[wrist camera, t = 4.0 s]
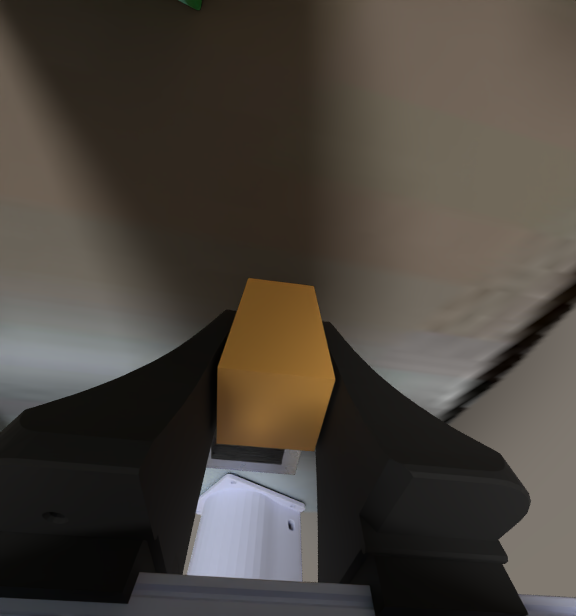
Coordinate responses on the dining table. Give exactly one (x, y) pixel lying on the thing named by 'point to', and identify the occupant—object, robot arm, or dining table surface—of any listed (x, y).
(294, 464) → the grey square frame
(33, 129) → the dining table surface
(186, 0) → the milk carton
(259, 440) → the orange block
